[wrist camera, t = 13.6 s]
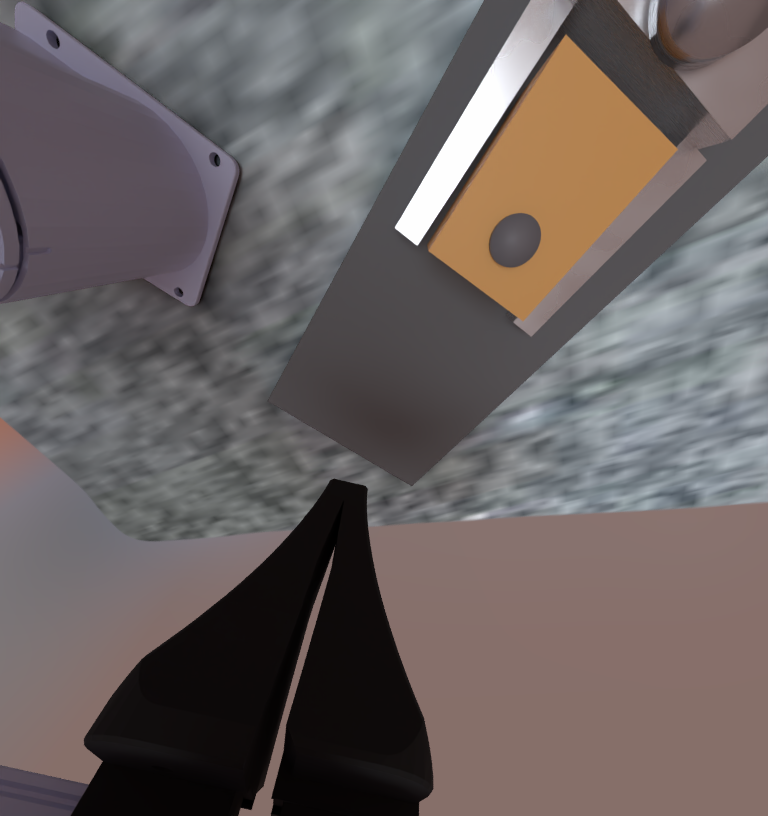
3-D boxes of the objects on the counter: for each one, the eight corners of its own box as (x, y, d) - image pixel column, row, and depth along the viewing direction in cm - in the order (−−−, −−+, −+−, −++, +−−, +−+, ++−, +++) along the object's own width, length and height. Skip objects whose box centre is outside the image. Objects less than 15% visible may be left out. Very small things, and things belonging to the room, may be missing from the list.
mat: (271, 396, 21) (267, 400, 20) (664, -325, 8) (680, -363, 7) (412, 480, 23) (411, 486, 23) (884, 35, 10) (908, 25, 10)
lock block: (426, 244, 15) (428, 251, 11) (520, 96, 12) (570, 28, 8) (498, 298, 15) (525, 323, 11) (602, 172, 13) (685, 147, 9)
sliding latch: (397, 227, 14) (390, 227, 11) (611, -129, 9) (716, -328, 6) (522, 327, 16) (547, 352, 13) (764, 75, 11) (909, 10, 8)
